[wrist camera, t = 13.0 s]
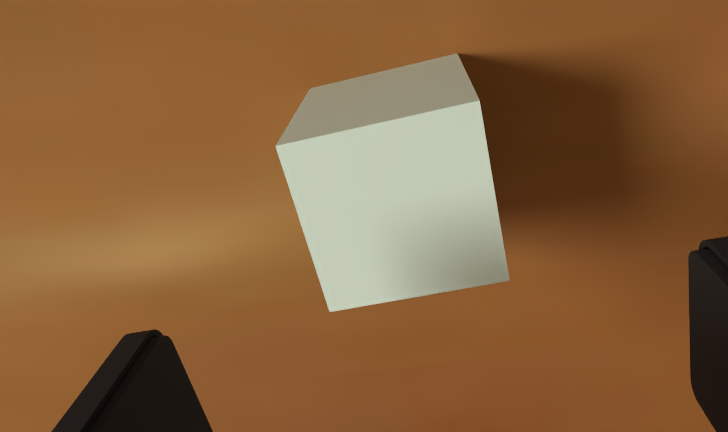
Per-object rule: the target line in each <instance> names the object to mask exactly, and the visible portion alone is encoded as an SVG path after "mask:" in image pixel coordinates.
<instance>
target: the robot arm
mask: <svg viewBox="0 0 728 432" xmlns="http://www.w3.org/2000/svg"><path fill="white" fill-rule="evenodd" d="M689 318H690V374H691V385H692V389H693V392H694V395H695V397H696V400H697V401H698V403H699V405H700V406H701V408H702V410H703V411H704V413H705V414H706V416H707V418H708V419H709V421H710V422H711V424H712V426H713V427H714V429H715V430H716V432H728V236H727V237H721V238H715V239H709V240H703V241H702V242H701V243H700V246H699V250H696V251H691V252H690V254H689ZM52 432H213V431H212V429H211V427H210V424H209V422H208V420H207V418H206V415H205V413H204V411H203V409H202V407H201V404H200V402H199V400H198V398H197V395H196V393H195V391H194V389H193V387H192V384H191V382H190V380H189V378H188V375H187V373H186V371H185V369H184V366H183V364H182V362H181V360H180V358H179V355H178V353H177V351H176V349H175V346H174V344H173V342H172V340H171V339H170V338H169V337H168V336H163V335H162V333H161V332H159V331H158V330H149V331H143V332H136V333H130V334H127V335H125V336H124V337H123V338H122V339H121V340H120V342H119V343H118V344H117V346H116V347H115V348H114V350H113V351H112V352H111V354H110V355H109V356H108V358H107V359H106V360H105V362H104V363H103V364H102V365H101V367H100V368H99V369H98V371H97V372H96V373H95V375H94V376H93V377H92V379H91V380H90V381H89V383H88V384H87V385H86V387H85V388H84V389H83V391H82V392H81V393H80V395H79V396H78V397H77V399H76V400H75V401H74V403H73V404H72V405H71V407H70V408H69V409H68V411H67V412H66V413H65V415H64V416H63V417H62V419H61V420H60V421H59V423H58V424H57V425H56V427H55V428H54V429H53V431H52Z"/></svg>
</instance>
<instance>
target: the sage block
mask: <svg viewBox="0 0 728 432" xmlns="http://www.w3.org/2000/svg"><path fill="white" fill-rule="evenodd" d="M276 149H277V152H278V155H279V158H280V161H281V164H282V168H283V171H284V174H285V177H286V180H287V183H288V186H289V189H290V192H291V195H292V198H293V201H294V204H295V207H296V210H297V213H298V217H299V220H300V223H301V226H302V229H303V232H304V235H305V238H306V241H307V244H308V247H309V250H310V253H311V256H312V259H313V262H314V265H315V269H316V272H317V275H318V278H319V281H320V284H321V287H322V290H323V293H324V296H325V299H326V302H327V305H328V308H329V311H330V312H332V311H338V310H344V309H350V308H355V307H361V306H367V305H373V304H378V303H384V302H390V301H395V300H401V299H407V298H413V297H418V296H424V295H430V294H436V293H441V292H447V291H453V290H459V289H464V288H470V287H476V286H482V285H487V284H493V283H499V282H505V281H510V280H509V274H508V268H507V262H506V256H505V250H504V244H503V238H502V232H501V226H500V220H499V214H498V208H497V202H496V196H495V190H494V184H493V178H492V172H491V166H490V160H489V154H488V148H487V142H486V136H485V129H484V123H483V117H482V111H481V105H480V100H479V98H478V96H477V94H476V92H475V89H474V87H473V85H472V83H471V81H470V79H469V77H468V75H467V73H466V71H465V68H464V66H463V64H462V62H461V60H460V58H459V56H458V54H453V55H449V56H445V57H440V58H436V59H432V60H428V61H424V62H419V63H415V64H411V65H407V66H403V67H398V68H394V69H390V70H386V71H382V72H377V73H373V74H369V75H365V76H361V77H356V78H352V79H348V80H344V81H340V82H335V83H331V84H327V85H323V86H319V87H314V88H310V89H309V91H308V93H307V94H306V96H305V98H304V99H303V101H302V103H301V104H300V106H299V108H298V109H297V111H296V113H295V114H294V116H293V118H292V119H291V121H290V123H289V124H288V126H287V128H286V129H285V131H284V133H283V134H282V136H281V138H280V139H279V141H278V143H277V144H276Z"/></svg>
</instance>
